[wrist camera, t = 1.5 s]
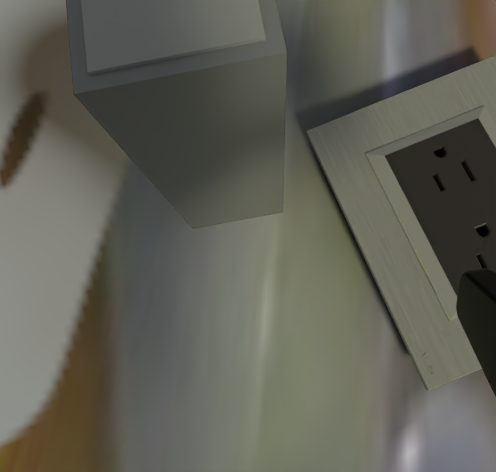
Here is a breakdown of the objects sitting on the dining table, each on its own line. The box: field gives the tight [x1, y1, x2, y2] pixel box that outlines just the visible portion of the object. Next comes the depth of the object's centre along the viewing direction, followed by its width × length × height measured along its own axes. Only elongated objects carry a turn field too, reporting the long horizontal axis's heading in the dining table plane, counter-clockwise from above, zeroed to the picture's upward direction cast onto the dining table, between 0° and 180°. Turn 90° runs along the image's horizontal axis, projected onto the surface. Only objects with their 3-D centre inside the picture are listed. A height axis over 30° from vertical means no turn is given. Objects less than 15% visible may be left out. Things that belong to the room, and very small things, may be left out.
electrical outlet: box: [306, 55, 496, 390], centre depth 20 cm, size 13×10×2 cm
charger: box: [66, 0, 287, 228], centre depth 16 cm, size 4×5×13 cm
